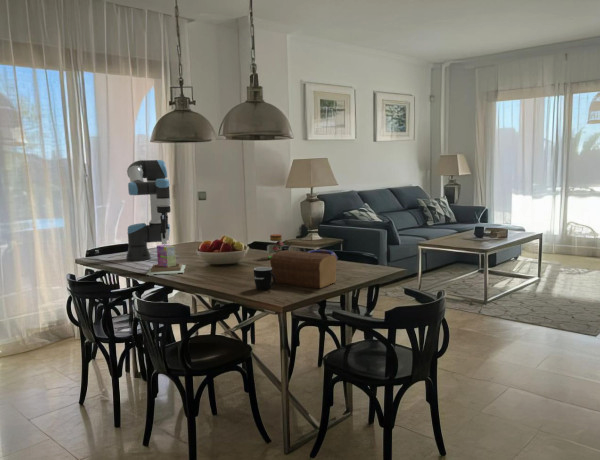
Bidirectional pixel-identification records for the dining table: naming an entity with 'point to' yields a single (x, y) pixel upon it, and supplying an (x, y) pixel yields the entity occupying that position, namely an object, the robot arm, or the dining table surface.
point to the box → (166, 255)
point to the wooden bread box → (304, 268)
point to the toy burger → (277, 246)
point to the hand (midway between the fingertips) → (165, 242)
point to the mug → (263, 278)
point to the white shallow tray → (166, 269)
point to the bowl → (324, 252)
